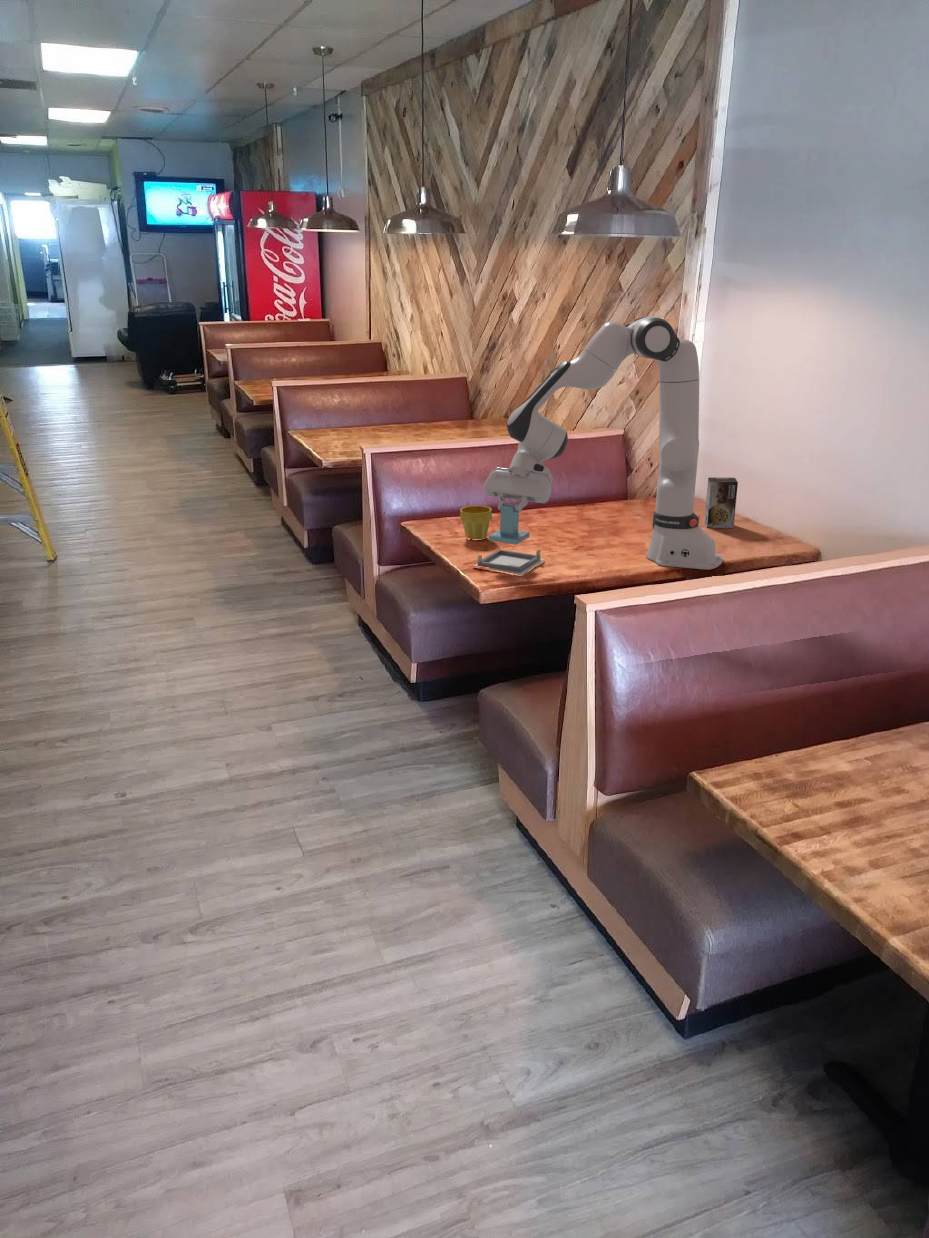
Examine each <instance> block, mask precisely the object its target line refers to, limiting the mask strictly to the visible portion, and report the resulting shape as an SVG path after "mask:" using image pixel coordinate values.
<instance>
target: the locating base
mask: <svg viewBox="0 0 929 1238" xmlns="http://www.w3.org/2000/svg"><path fill="white" fill-rule="evenodd" d="M535 550H536V552H535V554H531V553H525V552H517V551H511V550H507V549H500V548H498V549H497V550H496V551H494V552H491V553H490V554H488V555H487V556H485V557H484V558H482V557H483V555H482V554H477V563H476V564H474V565H473V566H483V567H489V568H490V569H492V570H498V571H503V572H508V573H513V574H517V575H521V576H522V575H524V574H525V573H526V572H528V571H529V570H530V569H532V568H533V567H535V566H537V565H538V564H540V563H541V562H543V561H544V560H545V561H546V559H545V558H541V549H540V548H537V549H535ZM524 576H525V575H524Z"/></svg>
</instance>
